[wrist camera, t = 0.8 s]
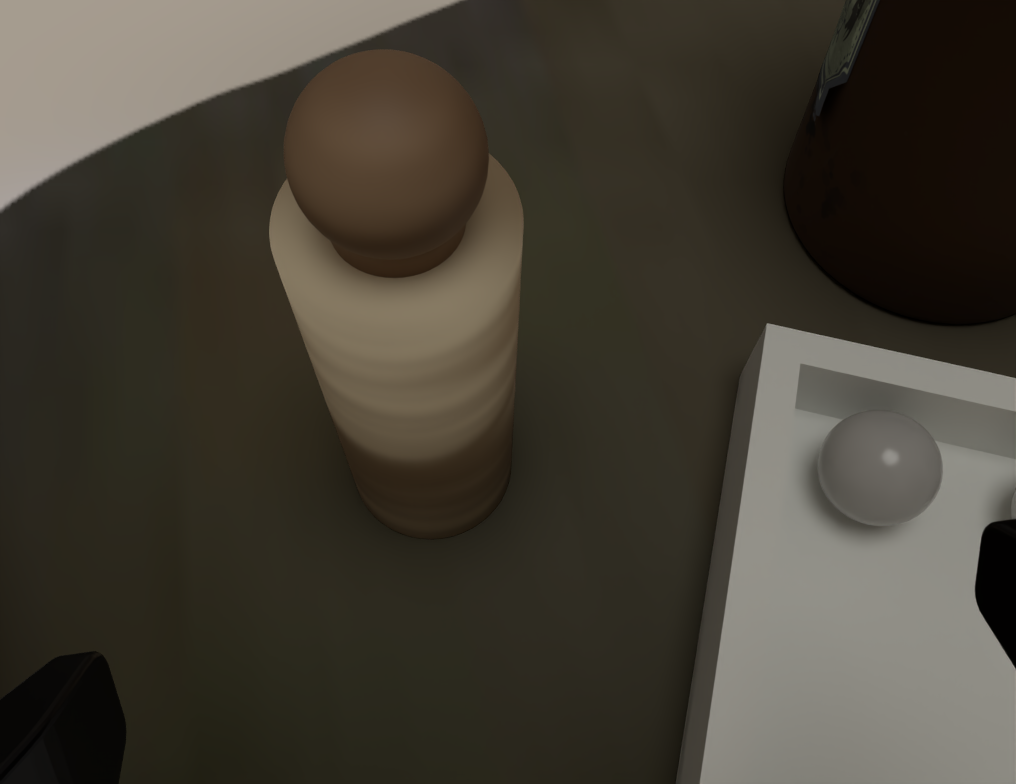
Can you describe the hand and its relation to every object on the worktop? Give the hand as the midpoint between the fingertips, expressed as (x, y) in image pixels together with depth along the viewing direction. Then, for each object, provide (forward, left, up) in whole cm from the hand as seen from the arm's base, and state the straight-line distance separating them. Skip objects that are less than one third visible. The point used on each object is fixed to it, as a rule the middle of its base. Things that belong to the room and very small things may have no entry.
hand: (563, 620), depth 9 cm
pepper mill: (+7, +4, -14) cm, 17 cm away
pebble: (+9, -7, -14) cm, 18 cm away
